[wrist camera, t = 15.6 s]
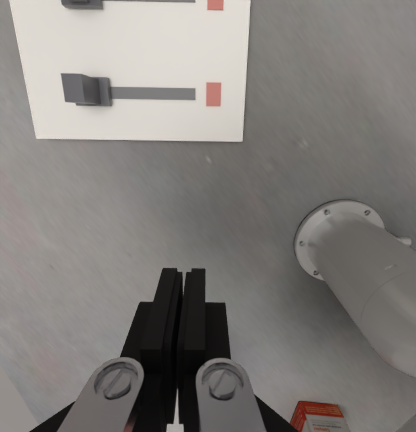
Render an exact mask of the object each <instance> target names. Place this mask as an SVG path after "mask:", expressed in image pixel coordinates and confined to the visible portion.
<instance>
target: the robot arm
mask: <svg viewBox="0 0 416 432" xmlns="http://www.w3.org/2000/svg"><path fill="white" fill-rule="evenodd" d="M325 210H326V211H325ZM300 241H301V242H300ZM410 246H411V239H410V238H409V237H395V236H394V235H392V234H390V233H389V232H387V231H386V230H385V226H384V223H383V220H382V219H381V217H380V216H379V214H378V213H377V212H376V211H374V210H373V209H372V208H370V207H369V206H367V205H365V204H363V203H361V202H358V201H353V200H338V201H332V202H329V203H327V204H324V205H322V206H320V207H318V208H317V209H315V210H314V211H313V212H311V213H310V214H309V215H308V216H307V217H306V218H305V219H304V220H303V222H302V223H301V225H300V227H299V228H298V231H297V233H296V237H295V242H294V250H295V254H296V258H297V260H298V262H299V263H300V265H301V266H302V268H303V269H304V270H305V271H306V272H307V273H308V274H309V275H311V276H312V277H314V278H317V279H319V280H323V281H325V282H326V283H327V285H328V286H329V287H330V289H331V290H332V292H333V293H334V294H335V296H336V297H337V299H338V300H339V301H340V303H341V304H342V306H343V307H344V308H345V310H346V311H347V313H348V314H349V315H350V317H351V318H352V320H353V321H354V323H355V324H356V325H357V327H358V328H359V330H360V331H361V332H362V334H363V335H364V337H365V338H366V339H367V340H368V342H369V343H370V345H371V346H372V347H373V349H374V350H375V351H376V352H377V354H378V355H379V356H380V357H381V358H382V359H383V360H385V361H386V362H387V363H388V364H390V365H391V366H393V367H394V368H396V369H397V370H399V371H401V372H403V373H405V374H408V375H410V376H412V377H415V378H416V251H414V250H413V249H411V248H410ZM177 388H178V415H179V424H183V427H184V432H299V431H298V430H297V429H295V428H294V427H293V426H292V425H291V424H289V423H288V422H287V421H286V420H285V419H283V418H282V417H281V416H280V415H279V414H277V413H276V412H275V411H274V410H273V409H271V408H270V407H269V406H268V405H267V404H265V403H264V402H263V401H262V400H260V399H259V398H258V397H257V396H256V395H254V392H253V389H252V386H251V383H250V380H249V377H248V375H247V373H246V371H245V369H244V368H243V367H242V366H241V365H240V364H238V363H237V362H235V361H233V360H231V356H230V346H229V336H228V326H227V315H226V306H225V303H214V302H205V269H197V268H192V272H186V279H185V286H184V294H183V276H182V272H177V268H163V269H162V273H161V276H160V280H159V283H158V287H157V290H156V294H155V297H154V301H153V302H140V303H139V305H138V308H137V311H136V313H135V316H134V319H133V322H132V325H131V327H130V330H129V333H128V336H127V339H126V341H125V344H124V347H123V350H122V353H121V355H120V357H119V358H115V359H111V360H109V361H107V362H105V363H103V364H102V365H101V366H100V367H98V368H97V369H96V370H95V371H94V373H93V374H92V375H91V377H90V378H89V380H88V382H87V383H86V385H85V387H84V388H83V390H82V391H81V393H80V395H79V396H78V398H77V400H76V401H74V402H73V403H71V404H70V405H68V406H67V407H65V408H64V409H62V410H61V411H60V412H58V413H57V414H55V415H54V416H52V417H51V418H49V419H48V420H46V421H45V422H43V423H42V424H40V425H39V426H37V427H36V428H34V429H33V430H31V431H30V432H166V430H167V424H174V417H175V407H176V398H177ZM396 432H416V414H415V415H414V416H413V417H412V418H411V419H410V420H408V421H407V422H406V423H405V424H404V425H403V426H402V427H400V428H399V429H398V430H397V431H396Z"/></svg>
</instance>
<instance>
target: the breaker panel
mask: <svg viewBox="0 0 416 432" xmlns="http://www.w3.org/2000/svg"><path fill="white" fill-rule="evenodd" d="M9 1H10V6H11V11H12V16H13V21H14V26H15V32H16V37H17V42H18V47H19V52H20V57H21V62H22V67H23V73H24V78H25V83H26V88H27V93H28V98H29V103H30V108H31V114H32V119H33V124H34V129H35V134H36V139H99V140H164V141H228V142H242V140H243V123H244V105H245V88H246V70H247V53H248V35H249V18H250V0H101V1H102V9H99V8H65V7H64V6H63V5H62V3H61V0H9ZM61 73H75V74H84V75H87V76H90V77H107V78H109V82H110V92H111V102H112V106H76V103H69V102H65V98H64V92H63V85H62V79H61Z"/></svg>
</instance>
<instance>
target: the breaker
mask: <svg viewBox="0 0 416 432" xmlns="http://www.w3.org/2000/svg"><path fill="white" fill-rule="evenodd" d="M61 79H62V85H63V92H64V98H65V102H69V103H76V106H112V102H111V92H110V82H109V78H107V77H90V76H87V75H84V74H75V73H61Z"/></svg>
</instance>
